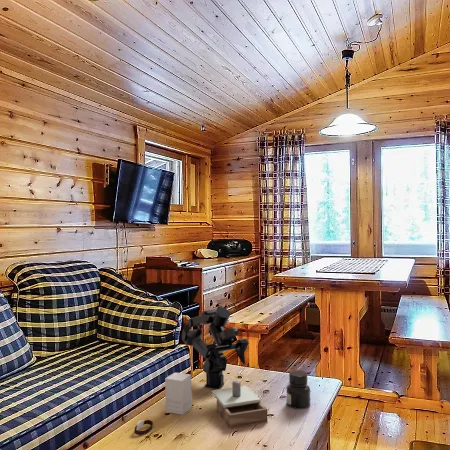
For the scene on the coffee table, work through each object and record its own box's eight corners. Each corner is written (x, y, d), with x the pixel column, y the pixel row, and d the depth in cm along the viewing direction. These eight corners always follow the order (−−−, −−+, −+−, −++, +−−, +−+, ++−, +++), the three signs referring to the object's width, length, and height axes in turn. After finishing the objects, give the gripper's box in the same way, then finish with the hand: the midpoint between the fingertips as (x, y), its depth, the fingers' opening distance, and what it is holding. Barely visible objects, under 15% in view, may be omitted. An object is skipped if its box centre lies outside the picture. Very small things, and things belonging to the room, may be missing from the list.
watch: (145, 425, 157) (145, 414, 157) (156, 428, 155) (156, 417, 155) (130, 434, 150) (130, 423, 150) (141, 437, 148) (141, 426, 148)
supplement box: (192, 407, 171) (191, 374, 170) (182, 415, 164) (181, 380, 164) (175, 404, 174) (175, 371, 173) (165, 412, 167) (164, 378, 167)
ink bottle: (291, 398, 179) (291, 367, 178) (313, 401, 175) (313, 371, 175) (283, 407, 170) (282, 375, 170) (306, 411, 166) (306, 379, 166)
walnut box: (216, 411, 167) (216, 399, 167) (252, 406, 171) (252, 394, 171) (229, 428, 154) (229, 415, 153) (267, 422, 158) (267, 409, 158)
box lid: (211, 393, 172) (211, 377, 172) (246, 388, 177) (246, 372, 177) (223, 407, 159) (223, 390, 159) (260, 402, 164) (260, 385, 164)
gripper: (203, 324, 179) (218, 356, 168) (244, 318, 188) (261, 348, 177) (197, 342, 185) (210, 374, 174) (237, 336, 194) (252, 366, 183)
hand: (234, 365), depth 177 cm, fingers open, 9 cm apart
